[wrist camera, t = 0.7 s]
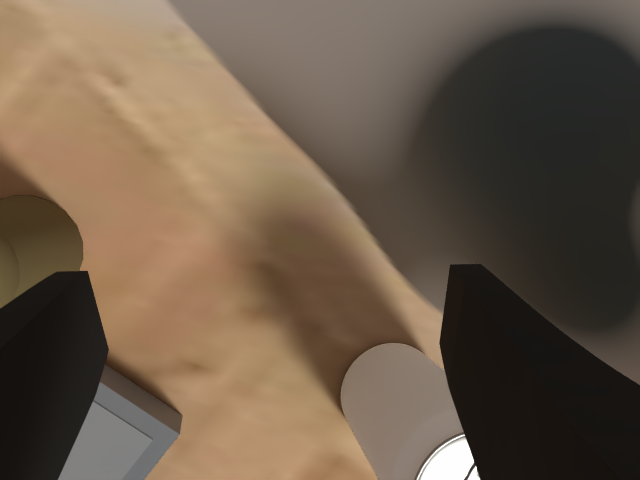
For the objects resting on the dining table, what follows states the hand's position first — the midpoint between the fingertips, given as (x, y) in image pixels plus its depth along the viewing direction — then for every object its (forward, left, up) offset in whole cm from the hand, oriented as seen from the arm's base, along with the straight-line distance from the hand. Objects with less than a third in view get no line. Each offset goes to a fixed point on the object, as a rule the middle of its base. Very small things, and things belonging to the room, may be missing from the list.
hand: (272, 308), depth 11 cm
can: (-2, -14, -22) cm, 26 cm away
